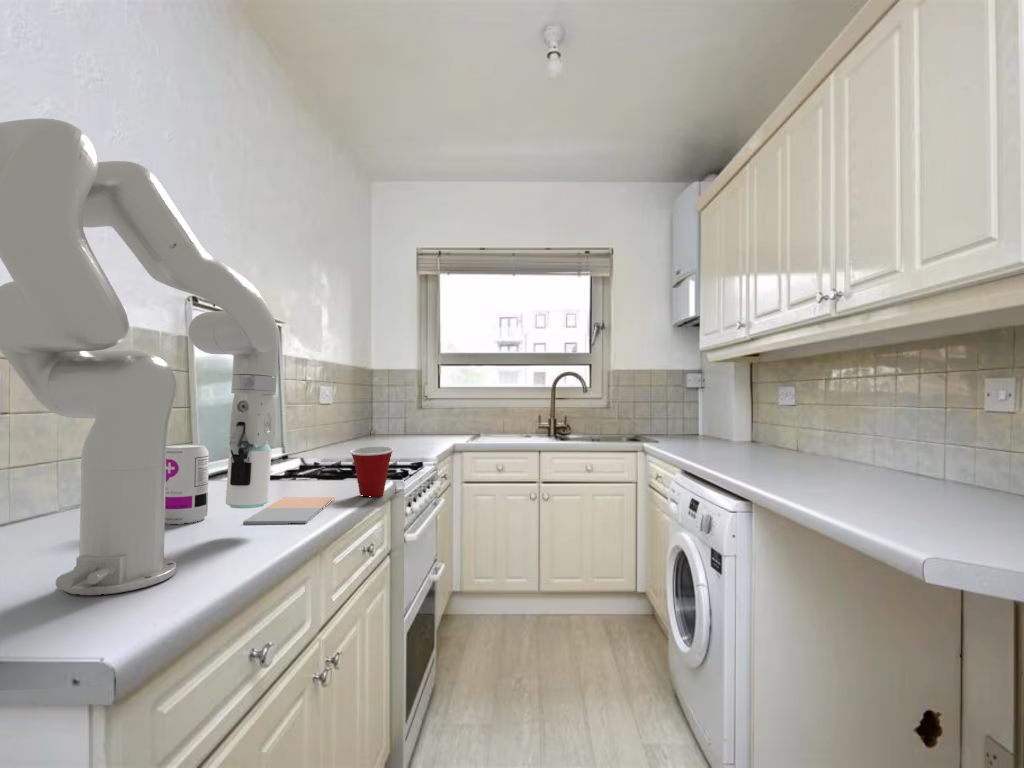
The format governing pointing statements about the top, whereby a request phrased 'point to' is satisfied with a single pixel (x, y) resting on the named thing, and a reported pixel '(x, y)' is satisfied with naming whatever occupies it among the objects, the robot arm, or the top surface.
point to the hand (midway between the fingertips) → (248, 482)
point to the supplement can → (186, 483)
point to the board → (290, 510)
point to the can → (251, 481)
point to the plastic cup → (372, 469)
